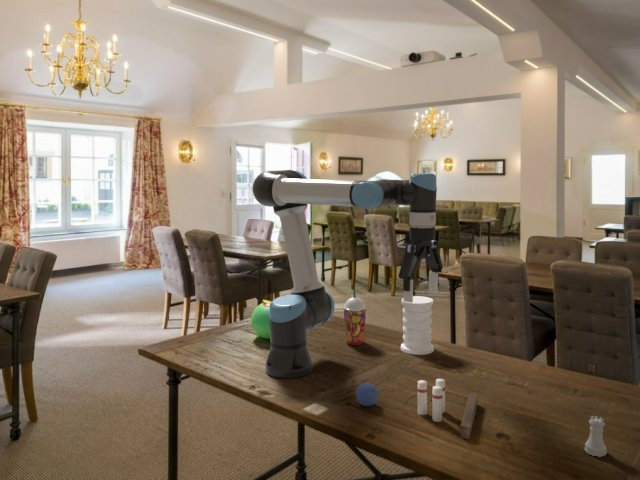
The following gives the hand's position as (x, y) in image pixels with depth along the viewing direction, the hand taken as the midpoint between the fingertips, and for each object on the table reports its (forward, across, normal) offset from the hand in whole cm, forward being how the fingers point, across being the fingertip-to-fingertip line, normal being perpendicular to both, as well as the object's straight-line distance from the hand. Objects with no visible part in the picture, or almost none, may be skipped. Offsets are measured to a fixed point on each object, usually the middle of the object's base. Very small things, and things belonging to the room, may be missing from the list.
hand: (420, 297), depth 160 cm
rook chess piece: (+25, -11, -53) cm, 59 cm away
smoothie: (+26, +14, +37) cm, 47 cm away
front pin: (+25, -19, -13) cm, 34 cm away
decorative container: (+26, +22, +15) cm, 38 cm away
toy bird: (+27, -1, +65) cm, 71 cm away
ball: (+23, -24, +1) cm, 33 cm away
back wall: (+25, -15, -24) cm, 38 cm away
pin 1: (+25, -15, -16) cm, 34 cm away
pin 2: (+25, -20, -18) cm, 37 cm away
